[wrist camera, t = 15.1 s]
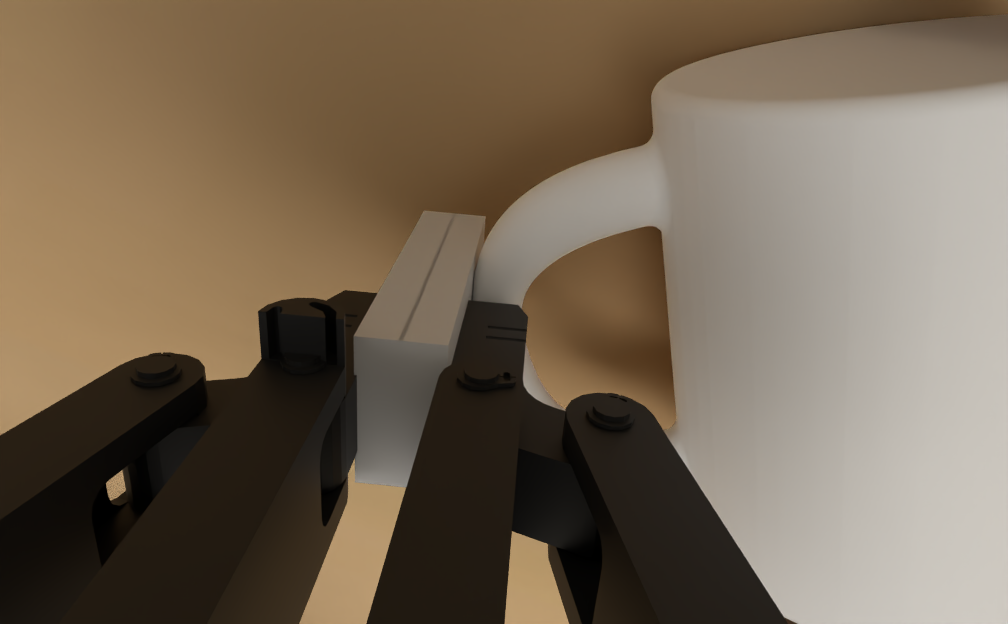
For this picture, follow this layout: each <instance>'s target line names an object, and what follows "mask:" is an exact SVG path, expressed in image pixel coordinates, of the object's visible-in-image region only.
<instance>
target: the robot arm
mask: <svg viewBox="0 0 1008 624" xmlns="http://www.w3.org/2000/svg"><path fill="white" fill-rule="evenodd" d="M485 219H486V216H477V215H467V214H456V213H445V212H434V211H424V212H423V213H422V215H421V217H420V219H419V221H418V222H417V224H416V226H415V228H414V229H413V231H412V233H411V235H410V237H409V238H408V240H407V242H406V244H405V245H404V247H403V249H402V251H401V253H400V254H399V256H398V258H397V260H396V261H395V263H394V265H393V267H392V269H391V270H390V272H389V274H388V276H387V277H386V279H385V281H384V283H383V285H382V286H381V288H380V290H379V292H378V293H368V292H358V291H347V290H345V291H343V292H341V293H339V294H337V295H335V296H334V297H332V298H330V299H328V300H327V301H326V300H321V299H316V298H294V299H287V300H280V301H277V302H275V303H272V304H269V305H267V306H265V307H264V308H262V309H261V310H259V311H258V316H259V330H260V344H261V358H262V359H261V360H260V362H259V363H258V364H257V366H256V367H255V368H254V370H253V371H252V372H251V373H250V375H249V376H248V377H244V378H237V379H225V380H211V381H206V375H205V367H204V366H203V364H202V363H201V362H200V361H199V360H198V359H196V358H193V357H191V356H188V355H182V354H174V353H163V354H161V353H153V354H150V355H148V356H144V357H139V358H135V359H133V360H131V361H128V362H126V363H124V364H122V365H120V366H118V367H116V368H114V369H113V370H111V371H109V372H108V373H106V374H104V375H103V376H101V377H99V378H97V379H96V380H94V381H92V382H91V383H89V384H87V385H86V386H84V387H82V388H80V389H79V390H77V391H75V392H74V393H72V394H70V395H68V396H67V397H65V398H63V399H62V400H60V401H58V402H57V403H55V404H53V405H51V406H50V407H48V408H46V409H45V410H43V411H41V412H40V413H38V414H36V415H34V416H33V417H31V418H29V419H28V420H26V421H24V422H22V423H21V424H19V425H17V426H16V427H14V428H12V429H11V430H9V431H7V432H5V433H4V434H2V435H0V624H299V622H300V620H301V617H302V615H303V612H304V610H305V607H306V605H307V602H308V600H309V597H310V595H311V592H312V589H313V587H314V584H315V582H316V579H317V577H318V574H319V572H320V569H321V567H322V564H323V562H324V559H325V557H326V554H327V552H328V549H329V547H330V544H331V542H332V539H333V536H334V534H335V531H336V529H337V526H338V524H339V521H340V519H341V516H342V514H343V511H344V509H345V506H346V504H347V498H348V472H349V470H350V468H351V465H352V463H353V460H354V458H355V482H358V483H368V484H378V485H388V486H397V487H406V490H405V494H404V497H403V501H402V504H401V507H400V511H399V514H398V518H397V521H396V524H395V528H394V531H393V535H392V538H391V542H390V545H389V548H388V552H387V555H386V559H385V562H384V565H383V569H382V572H381V576H380V579H379V583H378V586H377V589H376V593H375V596H374V600H373V603H372V606H371V610H370V613H369V617H368V620H367V624H504V622H505V609H506V597H507V584H508V572H509V559H510V546H511V534H512V531H514V532H516V533H519V534H522V535H525V536H527V537H530V538H533V539H536V540H539V541H541V542H544V543H547V544H548V558H549V561H550V565H551V568H552V571H553V574H554V577H555V580H556V583H557V587H558V590H559V593H560V596H561V599H562V602H563V606H564V609H565V612H566V615H567V618H568V621H569V624H788V623H787V621H786V619H785V618H784V616H783V615H782V613H781V612H780V610H779V609H778V607H777V606H776V604H775V602H774V601H773V599H772V598H771V596H770V595H769V593H768V592H767V590H766V589H765V587H764V585H763V584H762V582H761V581H760V579H759V578H758V576H757V575H756V573H755V571H754V570H753V568H752V567H751V565H750V564H749V562H748V561H747V559H746V558H745V556H744V554H743V553H742V551H741V550H740V548H739V547H738V545H737V544H736V542H735V541H734V539H733V537H732V536H731V534H730V533H729V531H728V530H727V528H726V527H725V525H724V524H723V522H722V520H721V519H720V517H719V516H718V514H717V513H716V511H715V510H714V508H713V507H712V505H711V503H710V502H709V500H708V499H707V497H706V496H705V494H704V493H703V491H702V490H701V488H700V486H699V485H698V483H697V482H696V480H695V479H694V477H693V476H692V474H691V473H690V471H689V469H688V468H687V466H686V465H685V463H684V462H683V460H682V459H681V457H680V456H679V454H678V452H677V451H676V449H675V448H674V446H673V445H672V443H671V442H670V440H669V438H668V437H667V435H666V434H665V432H664V431H663V429H662V428H661V426H660V425H659V423H658V421H657V420H656V418H655V417H654V415H653V414H652V413H651V412H650V411H649V410H648V409H647V408H646V407H645V406H643V405H642V404H640V403H638V402H636V401H634V400H632V399H630V398H628V397H625V396H622V395H621V396H619V395H618V394H613V393H608V394H606V393H593V394H586V395H582V396H580V397H578V398H575V399H573V400H571V402H570V403H569V405H568V406H567V408H566V411H564V410H561V409H557V408H554V407H552V406H549V405H546V404H544V403H542V402H541V401H539V400H537V399H535V398H534V397H533V396H532V395H531V394H529V393H528V391H527V390H526V388H525V387H524V383H523V371H524V359H525V346H526V334H527V321H528V316H527V315H526V314H525V313H524V311H523V310H522V309H521V308H520V306H519V305H514V304H504V303H493V302H483V301H472V293H473V281H474V274H475V269H476V265H477V262H478V258H479V255H480V252H481V250H482V248H483V245H484V233H485ZM121 470H123V475H124V481H125V487H126V491H125V492H124V493H123V494H121V495H120V496H119V497H118V498H116V499H114V500H111V501H110V499H109V497H108V493H107V488H106V482H107V481H108V480H109V479H111V478H112V477H113V476H115V475H116V474H117V473H119V472H120V471H121Z"/></svg>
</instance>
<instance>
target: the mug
mask: <svg viewBox="0 0 1008 624" xmlns="http://www.w3.org/2000/svg"><path fill="white" fill-rule="evenodd" d="M651 107H652V120H653V134H652V137H651V139H650V140H649V141H648V142H647V143H646V144H644V145H642V146H639V147H634V148H630V149H626V150H622V151H618V152H614V153H611V154H608V155H605V156H601V157H598V158H595V159H591V160H588V161H586V162H583V163H580V164H578V165H575V166H573V167H570V168H568V169H566V170H564V171H561V172H559V173H557V174H555V175H553V176H551V177H550V178H548V179H546V180H544V181H542V182H541V183H539V184H538V185H536V186H534V187H533V188H532V189H530V190H529V191H527V192H526V193H525V194H523V195H522V196H521V197H520V198H518V199H517V200H516V201H515V202H514V203H513V204H512V205H511V206H510V207H509V208H508V209H507V210H506V211H505V212H504V213H503V215H502V216H501V217H500V218H499V220H498V221H497V222H496V224H495V225H494V227H493V228H492V230H491V232H490V233H489V235H488V237H487V239H486V241H485V243H484V245H483V248H482V250H481V252H480V255H479V258H478V262H477V265H476V269H475V274H474V281H473V293H472V301H483V302H493V303H504V304H514V305H519V306H520V308H521V309H522V305H523V300H524V297H525V294H526V292H527V290H528V288H529V287H530V285H531V284H532V282H533V281H534V280H535V278H536V277H537V276H538V275H539V274H540V273H541V272H542V271H543V270H545V269H546V268H547V267H548V266H549V265H551V264H552V263H554V262H555V261H557V260H558V259H560V258H561V257H563V256H565V255H566V254H568V253H570V252H572V251H574V250H576V249H578V248H580V247H583V246H585V245H587V244H589V243H592V242H594V241H597V240H600V239H603V238H606V237H609V236H612V235H615V234H618V233H622V232H626V231H630V230H633V229H637V228H641V227H646V226H654V227H657V228H658V229H659V230H660V231H661V232H662V244H663V257H664V269H665V282H666V294H667V307H668V319H669V332H670V344H671V357H672V369H673V382H674V394H675V407H676V421H675V423H674V425H673V426H672V427H670V428H669V429H665V430H663V431H664V432H665V434H666V435H667V437H668V438H669V440H670V442H671V443H672V445H673V446H674V448H675V449H676V451H677V452H678V454H679V456H680V457H681V459H682V460H683V462H684V463H685V465H686V466H687V468H688V469H689V471H690V473H691V474H692V476H693V477H694V479H695V480H696V482H697V483H698V485H699V486H700V488H701V490H702V491H703V493H704V494H705V496H706V497H707V499H708V500H709V502H710V503H711V505H712V507H713V508H714V510H715V511H716V513H717V514H718V516H719V517H720V519H721V520H722V522H723V524H724V525H725V527H726V528H727V530H728V531H729V533H730V534H731V536H732V537H733V539H734V541H735V542H736V544H737V545H738V547H739V548H740V550H741V551H742V553H743V554H744V556H745V558H746V559H747V561H748V562H749V564H750V565H751V567H752V568H753V570H754V571H755V573H756V575H757V576H758V578H759V579H760V581H761V582H762V584H763V585H764V587H765V589H766V590H767V592H768V593H769V595H770V596H771V598H772V599H773V601H774V602H775V604H776V606H777V607H778V609H779V610H780V612H781V613H782V615H783V616H784V618H787V619H789V620H791V621H793V622H795V623H797V624H1008V14H1005V15H988V16H973V17H960V18H947V19H936V20H925V21H915V22H906V23H897V24H888V25H880V26H872V27H864V28H857V29H849V30H842V31H836V32H829V33H822V34H816V35H810V36H804V37H798V38H793V39H787V40H782V41H777V42H772V43H767V44H762V45H757V46H753V47H748V48H744V49H739V50H735V51H731V52H727V53H723V54H720V55H716V56H713V57H709V58H706V59H703V60H700V61H697V62H694V63H691V64H689V65H686V66H684V67H681V68H679V69H677V70H675V71H673V72H671V73H669V74H668V75H666V76H665V77H663V78H662V79H661V80H660V81H659V82H658V83H657V84H656V86H655V87H654V89H653V92H652V95H651ZM523 383H524V387H525V388H526V390H527V391H528V393H529V394H531V395H532V396H533V397H534V398H535V399H537V400H539V401H541V402H542V403H544V404H546V405H549V406H552V407H554V408H557V409H561V410H564V411H566V410H565V409H564V408H563V407H561V406H560V405H559V404H558V403H557V402H556V401H555V400H554V399H553V398H552V397H551V395H550V394H549V393H548V392H547V390H546V389H545V387H544V386H543V384H542V382H541V380H540V379H539V377H538V375H537V373H536V370H535V368H534V366H533V363H532V361H531V358H530V355H529V352H528V348H527V345H526V346H525V359H524V371H523Z"/></svg>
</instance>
